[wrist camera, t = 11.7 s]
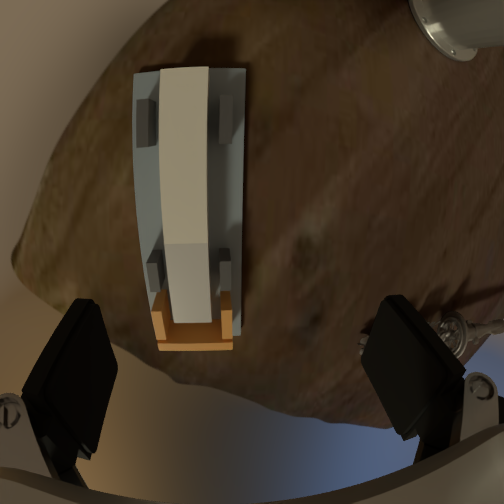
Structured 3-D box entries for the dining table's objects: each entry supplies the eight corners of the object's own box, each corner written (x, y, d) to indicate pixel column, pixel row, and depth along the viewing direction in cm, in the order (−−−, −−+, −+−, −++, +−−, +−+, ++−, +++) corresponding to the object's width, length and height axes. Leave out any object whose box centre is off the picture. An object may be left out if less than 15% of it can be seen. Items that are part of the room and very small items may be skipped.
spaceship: (502, 351, 36) (526, 329, 30) (354, 383, 34) (377, 361, 29) (490, 319, 41) (511, 295, 36) (346, 335, 40) (364, 306, 34)
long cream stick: (168, 78, 20) (160, 69, 17) (209, 76, 21) (208, 66, 17) (177, 300, 29) (174, 322, 26) (211, 299, 30) (211, 322, 26)
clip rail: (136, 75, 21) (120, 64, 16) (244, 70, 22) (251, 57, 17) (157, 331, 32) (150, 360, 27) (240, 329, 33) (244, 359, 29)
